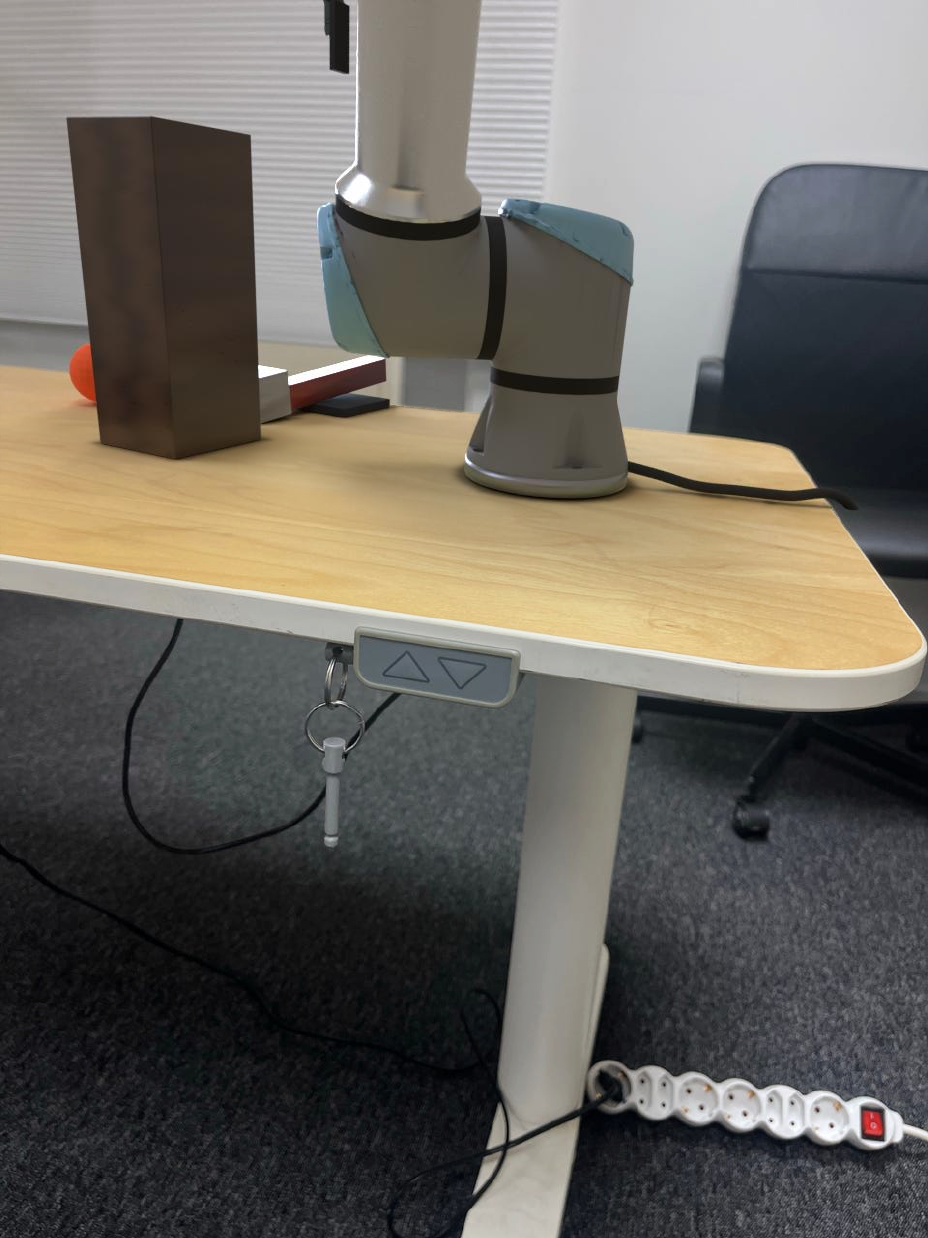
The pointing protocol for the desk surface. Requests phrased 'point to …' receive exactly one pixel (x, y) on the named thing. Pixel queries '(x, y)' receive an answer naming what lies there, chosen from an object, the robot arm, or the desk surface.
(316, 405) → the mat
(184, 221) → the tall post
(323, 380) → the hammer
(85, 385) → the clementine
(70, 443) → the desk surface
